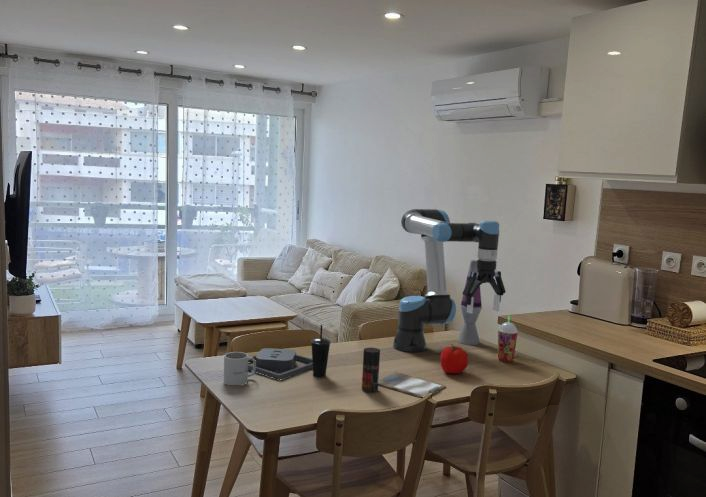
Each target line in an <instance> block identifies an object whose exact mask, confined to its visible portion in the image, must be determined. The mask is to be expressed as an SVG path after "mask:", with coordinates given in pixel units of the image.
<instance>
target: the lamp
mask: <svg viewBox="0 0 706 497" xmlns="http://www.w3.org/2000/svg"><path fill="white" fill-rule="evenodd" d="M477 260H478V259H471V260H470V262H469V266H468V272H467V274H466V280H465V284H464V288H465V287H466V284H467V282H468V280H469V278H470V274H471V272H476V273H477V271H478V269H477ZM476 278H477V277H476ZM472 297H474V301H473V313H472V314H471V313H468V312H467V304H466V298H467V297H466V296H465V295H463V294H462V298H461V303H460V309H461V315H462V318H463V322H464V323H463V326H462V328H461V330H460V332H459V335H458V337H457V342H458V343H459V344H463V345H466V346H467V345H468V346H477V345H479V344H480V342H481V341H480V338H479V333H478V330H477V324H476V323H477V320H478V318H479V316H480V314H481V312H482V309H483V307H482V294H481V285H480V286H479V288H478V289H477V290H476V292H475V293H474V294H473V296H472Z"/></svg>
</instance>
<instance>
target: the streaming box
mask: <svg viewBox="0 0 706 497" xmlns="http://www.w3.org/2000/svg"><path fill="white" fill-rule="evenodd" d="M296 354H297V351H296V350H294V349H289V348H287V349H286V348H271V347H270V348H267V347H265V348H261V349H260V350H259V352H258V354H256V355H257V356H256V361H255V362H256V367H259V368H262V369H265V370H268V371H278V372H277V373H284V372H287V371H290V370H292V369H295V366H296V364H297V362H296V361H297V360H296ZM295 363H296V364H295Z"/></svg>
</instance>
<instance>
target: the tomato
mask: <svg viewBox="0 0 706 497" xmlns="http://www.w3.org/2000/svg"><path fill="white" fill-rule="evenodd" d="M440 353H441V354H440V359H439V360H440V367H441V368H442V370H443V371H444V372H445V373H447V374H460V373H463V372H464V370H465V369H466V368H467V367H468V364H469V358H468V354H467V352H466V351H465V350H464V349H463V348H462V347H460V346H457V345H453V344H451V346H446V347H444V348H443V350H442V351H441V352H440Z"/></svg>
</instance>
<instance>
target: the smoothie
mask: <svg viewBox="0 0 706 497" xmlns="http://www.w3.org/2000/svg"><path fill="white" fill-rule="evenodd" d="M510 318H511V316H510V315H508V317H507V321H506V322H503V323H501V325H500V326H499V328H497V358H498V361H499V362H501V363H506V364H507V363H512V362H513V360H514V359H515V354H516V353H515V352H516V346H517V339H518V333H519V331H518V329H517V327H516V325H515V324H514V323H512V322H510Z"/></svg>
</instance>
